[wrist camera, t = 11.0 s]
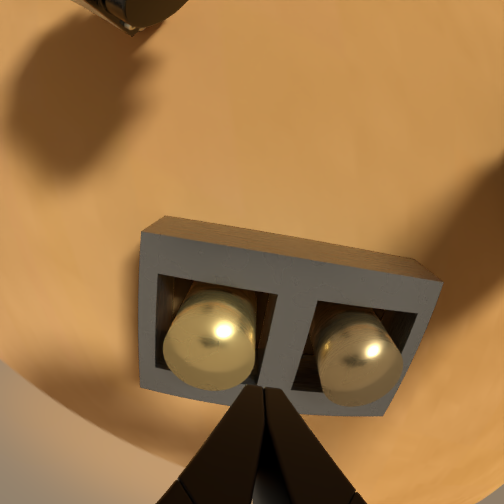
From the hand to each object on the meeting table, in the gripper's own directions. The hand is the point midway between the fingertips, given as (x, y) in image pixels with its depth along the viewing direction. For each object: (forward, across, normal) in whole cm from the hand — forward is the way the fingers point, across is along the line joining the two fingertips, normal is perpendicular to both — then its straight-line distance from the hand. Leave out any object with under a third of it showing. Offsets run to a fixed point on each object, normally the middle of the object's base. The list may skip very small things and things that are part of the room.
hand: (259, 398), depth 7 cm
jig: (+12, -2, +4) cm, 13 cm away
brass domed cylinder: (+12, +2, +4) cm, 13 cm away
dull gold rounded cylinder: (+12, -6, +4) cm, 14 cm away
